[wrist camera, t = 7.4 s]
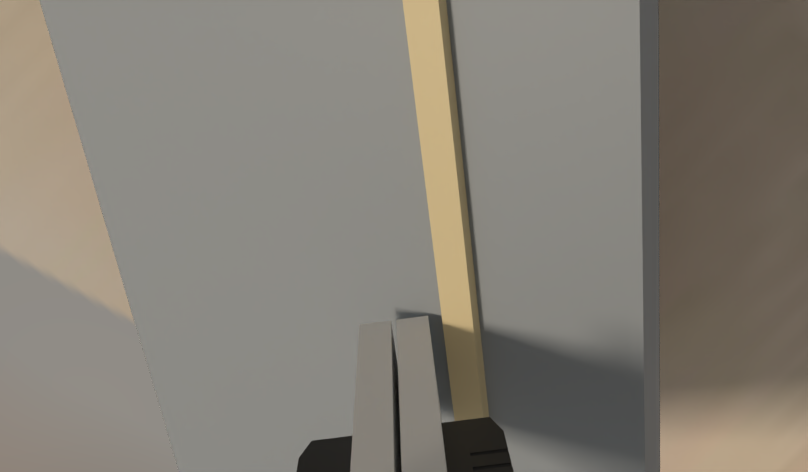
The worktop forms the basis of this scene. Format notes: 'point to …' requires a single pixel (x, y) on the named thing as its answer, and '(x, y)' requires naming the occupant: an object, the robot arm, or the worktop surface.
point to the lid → (381, 212)
